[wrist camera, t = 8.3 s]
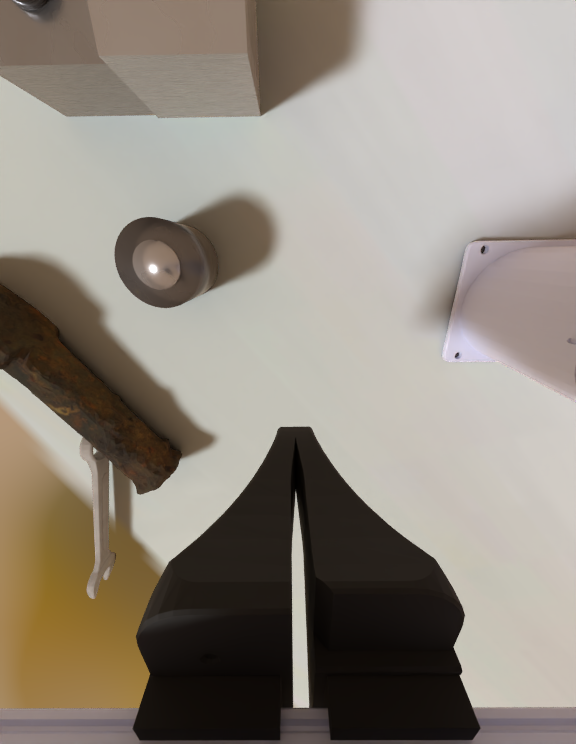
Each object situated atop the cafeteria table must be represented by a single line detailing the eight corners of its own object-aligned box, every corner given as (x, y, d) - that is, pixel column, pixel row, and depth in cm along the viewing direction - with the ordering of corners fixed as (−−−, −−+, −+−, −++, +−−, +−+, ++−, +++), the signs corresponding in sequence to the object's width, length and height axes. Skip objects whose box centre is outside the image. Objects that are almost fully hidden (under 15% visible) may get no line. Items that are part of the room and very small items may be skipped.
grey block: (254, -25, 13) (235, -188, 8) (260, 116, 15) (247, 53, 10) (137, -23, 13) (48, -183, 8) (158, 118, 15) (98, 55, 10)
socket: (213, 223, 17) (192, 215, 13) (222, 296, 19) (204, 307, 15) (143, 225, 17) (101, 217, 13) (158, 297, 19) (124, 309, 15)
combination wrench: (70, 441, 20) (81, 604, 27) (89, 445, 20) (94, 606, 27) (103, 415, 23) (104, 565, 31) (118, 418, 24) (116, 567, 31)
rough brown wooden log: (191, 449, 24) (170, 491, 20) (156, 467, 25) (129, 511, 21) (9, 246, 18) (-79, 244, 14) (-30, 279, 19) (-124, 287, 14)
